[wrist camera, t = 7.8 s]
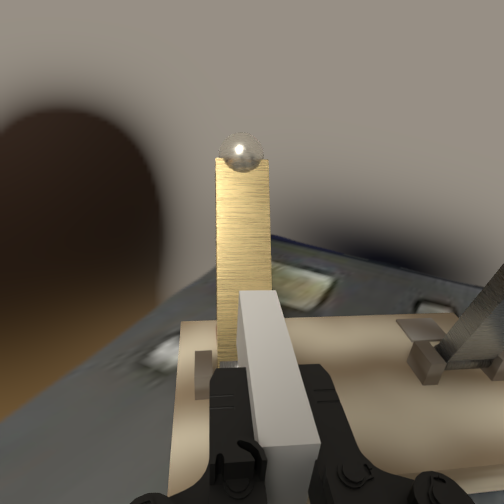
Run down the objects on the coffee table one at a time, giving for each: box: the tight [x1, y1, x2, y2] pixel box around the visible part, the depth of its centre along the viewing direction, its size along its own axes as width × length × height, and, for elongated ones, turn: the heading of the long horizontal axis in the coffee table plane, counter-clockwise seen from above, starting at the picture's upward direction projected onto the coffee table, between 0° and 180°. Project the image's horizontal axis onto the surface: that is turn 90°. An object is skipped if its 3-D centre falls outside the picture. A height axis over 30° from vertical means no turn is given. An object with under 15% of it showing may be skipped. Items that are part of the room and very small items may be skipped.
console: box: [167, 313, 504, 504], centre depth 22 cm, size 12×22×4 cm, turn 97°
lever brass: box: [215, 133, 272, 368], centre depth 21 cm, size 3×3×15 cm
